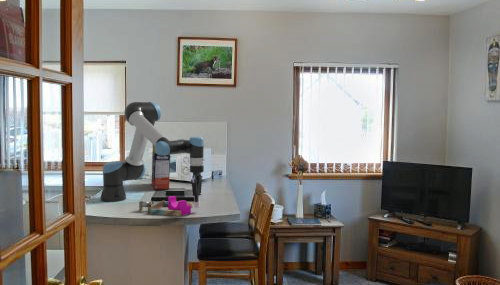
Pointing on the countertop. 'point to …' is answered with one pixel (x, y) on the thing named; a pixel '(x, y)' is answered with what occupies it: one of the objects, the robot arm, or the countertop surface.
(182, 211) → the toy block
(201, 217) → the countertop surface
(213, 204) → the countertop surface
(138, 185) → the countertop surface
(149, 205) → the winch drum
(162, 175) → the cereal box
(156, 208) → the rack bay
